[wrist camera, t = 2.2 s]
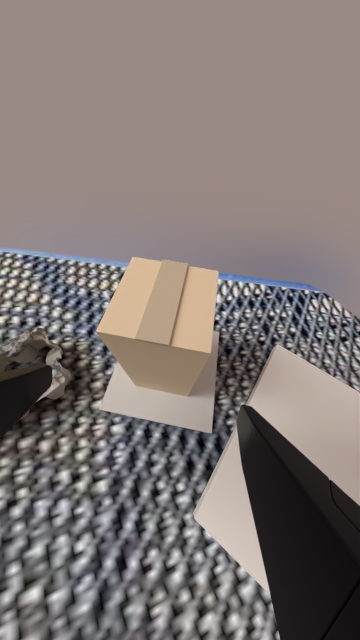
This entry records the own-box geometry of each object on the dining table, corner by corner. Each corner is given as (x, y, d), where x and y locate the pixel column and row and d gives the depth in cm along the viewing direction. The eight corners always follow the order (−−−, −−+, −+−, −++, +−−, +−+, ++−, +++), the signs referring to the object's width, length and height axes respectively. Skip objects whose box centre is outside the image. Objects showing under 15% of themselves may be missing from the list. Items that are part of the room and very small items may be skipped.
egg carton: (63, 339, 22) (44, 322, 18) (79, 394, 19) (60, 386, 15) (-43, 383, 19) (-90, 372, 15) (-45, 459, 15) (-104, 466, 12)
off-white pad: (391, 712, 10) (411, 737, 10) (192, 513, 14) (194, 518, 13) (401, 424, 19) (412, 423, 18) (273, 347, 22) (277, 344, 22)
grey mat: (210, 433, 17) (211, 433, 17) (100, 410, 18) (99, 409, 17) (218, 333, 23) (219, 332, 23) (135, 318, 24) (134, 316, 23)
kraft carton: (187, 397, 18) (211, 353, 8) (135, 386, 19) (94, 330, 8) (194, 347, 21) (219, 268, 11) (149, 338, 22) (132, 254, 11)
